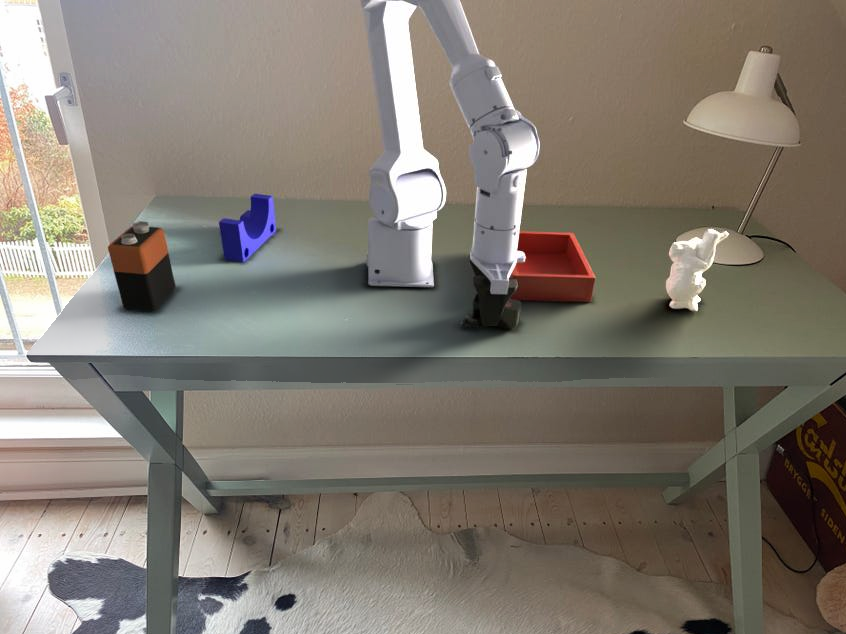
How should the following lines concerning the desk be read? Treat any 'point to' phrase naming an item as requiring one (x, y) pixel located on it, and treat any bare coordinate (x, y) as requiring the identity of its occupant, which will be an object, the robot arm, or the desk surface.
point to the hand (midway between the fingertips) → (487, 315)
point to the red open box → (552, 268)
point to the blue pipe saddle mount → (248, 229)
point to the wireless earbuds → (507, 319)
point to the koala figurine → (690, 268)
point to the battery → (142, 267)
